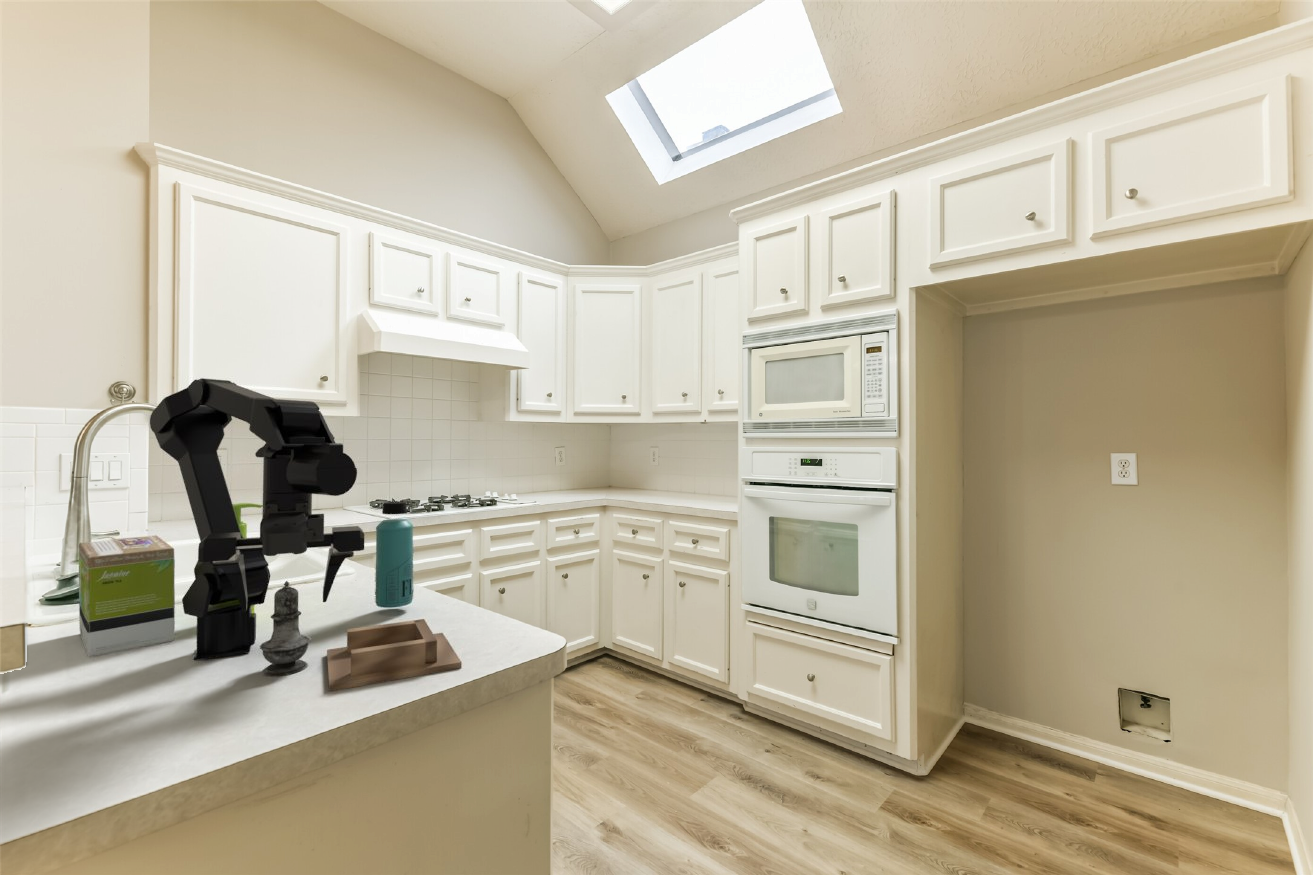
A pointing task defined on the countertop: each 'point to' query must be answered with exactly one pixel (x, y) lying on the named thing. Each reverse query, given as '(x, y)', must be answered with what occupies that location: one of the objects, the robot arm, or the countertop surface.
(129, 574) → the tea box
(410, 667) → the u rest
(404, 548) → the beverage bottle
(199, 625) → the robot arm
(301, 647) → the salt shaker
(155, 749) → the countertop surface
